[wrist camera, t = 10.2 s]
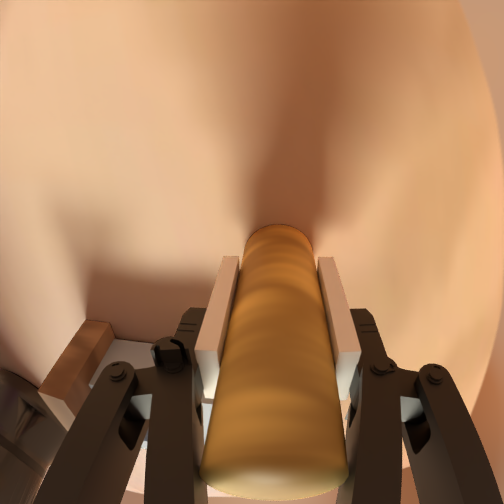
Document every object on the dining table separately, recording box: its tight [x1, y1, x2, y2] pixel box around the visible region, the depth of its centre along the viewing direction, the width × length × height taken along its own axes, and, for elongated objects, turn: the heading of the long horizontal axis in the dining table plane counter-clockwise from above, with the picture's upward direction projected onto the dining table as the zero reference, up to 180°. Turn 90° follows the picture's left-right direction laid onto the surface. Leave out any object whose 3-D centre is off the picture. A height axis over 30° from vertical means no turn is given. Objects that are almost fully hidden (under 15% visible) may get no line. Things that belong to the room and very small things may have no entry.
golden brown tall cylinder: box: [199, 224, 349, 501], centre depth 12 cm, size 4×4×13 cm
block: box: [89, 339, 214, 449], centre depth 22 cm, size 9×9×5 cm
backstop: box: [37, 320, 116, 431], centre depth 21 cm, size 2×12×8 cm, turn 2°
